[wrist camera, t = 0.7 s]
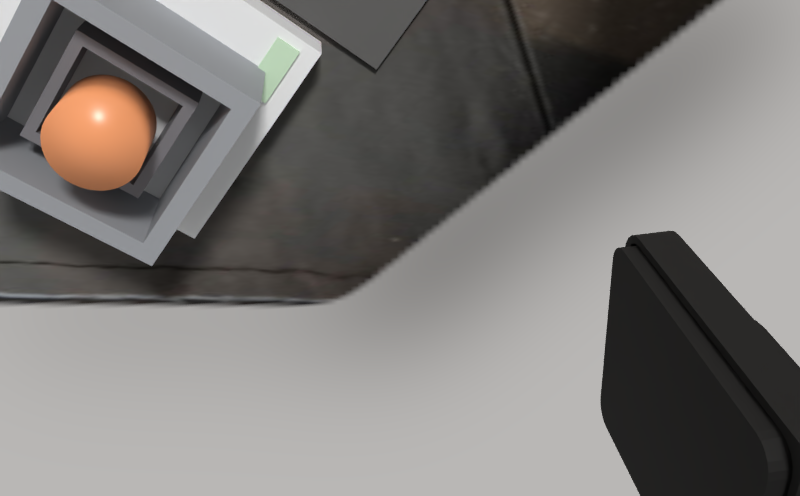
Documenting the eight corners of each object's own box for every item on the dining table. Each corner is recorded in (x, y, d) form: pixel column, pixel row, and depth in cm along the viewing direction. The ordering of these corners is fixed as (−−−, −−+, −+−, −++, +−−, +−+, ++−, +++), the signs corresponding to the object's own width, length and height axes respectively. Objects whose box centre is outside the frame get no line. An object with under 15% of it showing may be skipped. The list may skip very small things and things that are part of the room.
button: (86, 56, 32) (67, 79, 29) (173, 107, 33) (162, 133, 31) (45, 130, 33) (23, 158, 31) (130, 176, 35) (116, 207, 32)
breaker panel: (67, -132, 33) (18, -117, 27) (320, 42, 38) (323, 84, 32) (-42, 90, 37) (-103, 142, 31) (199, 220, 42) (182, 285, 36)
